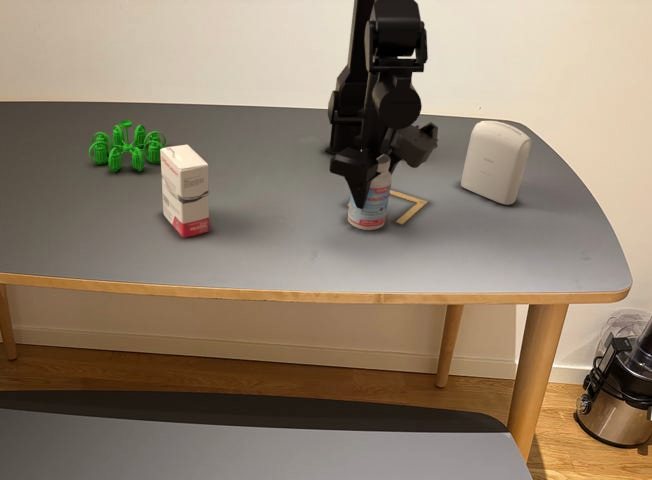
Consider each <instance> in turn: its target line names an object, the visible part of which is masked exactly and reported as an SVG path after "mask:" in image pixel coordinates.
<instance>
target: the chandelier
mask: <svg viewBox="0 0 652 480" xmlns="http://www.w3.org/2000/svg"><path fill="white" fill-rule="evenodd" d="M132 126H133V121H131V120H130V119H129V120H128V119H125V120H121V121H119V125H118V124H116V125H114V126H113V130H112V138H111V137H110V135H108V134H106V133H105V132H103V131H97V132H95V133H94V134H93V135H92V137H91V139H90V140H91V146H90V147H89V149H88V157H89V159H90V161H91V162H92V163H94V164H96V165H104V164H106V163H108V168H109V170H110V171H111V172H114V173H117V172H118V171H119V170H120V169H121V168H122V167H123V165H122V159H123V158H122V155H123V154H124V153H131V154H132V155H131V165H132V168H133V169H135V170H137V171H138V172H142V171H143V170H144V167H145V159H146V160H147V161H149V162H150V163H151V164H161V154H160V149H162V148H166V144H167V139H166V137H165V135H164V134H163V133H162V132H160V131H159V130H158V131H157V130H154V131H151V132H149V133H148V134H147V130H146V127H145V125H143V124H138V125H137V126H136V127H135V130H134V134H133V141H132V142H131V143H129V131H128V128H131V127H132ZM122 128H124V130H125V133H124V130H123V129H122ZM96 135H98V136H96ZM160 135H161V137H162V138H163V145H162V141H161V140H162V139H161V138H160ZM95 136H96V140H95V142H94V138H95ZM148 138H149V139H148ZM147 140H148V141H147ZM109 143H110V145H109ZM148 144H149V145H148ZM147 145H148V148H147ZM92 149H94V150H93V153H94V160H95V161H94V160H93V158H92V157H91V155H92V154H91V153H92ZM147 153H148V154H147ZM107 155H108V156H107Z"/></svg>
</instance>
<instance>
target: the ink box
mask: <svg viewBox="0 0 652 480" xmlns="http://www.w3.org/2000/svg"><path fill="white" fill-rule="evenodd" d="M160 161H161V162H160V168H161V169H160V171H161V186H162V187H161V188H162V208H163V209H162V210H163V216H164V217H165V219H167V221H168V222H169V223H170V224H171V225H172V226H173V228H174V229H175V230H176V231H177V232H178V234H179V235H180V236H181V237H182V238H184V239H185V238H189V237H192V236H193V237H194V236H197V235H201V234H206V233H209V232H210V197H209V191H210V190H209V164H208V163H207V162H206V161H205V160H204V159H203V158H202V157H201V156H200V155H199V154H198V153H197V152H196V151H195V150H194V149H193V148H192V147H191V146H190V145H189V144H188V143H187V144H180V145H174V146H173V145H172V146H167V147H164V148H162V149H160Z"/></svg>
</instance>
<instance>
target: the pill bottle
mask: <svg viewBox="0 0 652 480" xmlns="http://www.w3.org/2000/svg"><path fill="white" fill-rule="evenodd" d="M377 161H378V162H379V164H378V170H377V172H380V173H381V174H380V175H379V176H377V177H376V178H374V179H373V180H372V181H371V185H370V188H369V192H368V195H367V199H366V202H365V205H364V208H363V209H360V208H357V207H356V205H355V202H354V199H353V197H352V194H351V193H350V196H349V197H350V198H349V202H348V204H349V206H348V211H347V222H348V223H349V224H350V225H351V226H353V227H354V228H356V229H358V230H361V231H374V230H378V229H381V228H382V227H383V226H384V225H385V224H386V223H385V222H386V218H387V217H386V216H387V212H388V207H389V206H388V205H389V199H390V195H391V194H390V190H391V187H392V181H393V177H392V176H391V173H390V172H389V171H388V169H389V167H390V157H389V156H388V155H386V154H385V155H384V156H382V157H381V158H379V159H378V160H377Z"/></svg>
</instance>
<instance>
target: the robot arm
mask: <svg viewBox="0 0 652 480" xmlns="http://www.w3.org/2000/svg"><path fill="white" fill-rule="evenodd" d="M350 25H351V27H350V35H349V44H348V46H349V47H348V53H347V62H346V65H345V67H344V68H343V69H342V71H340V72H339V75H338V76H337V77H336V82H335V88H334V89H335V90H332V91H331V94H330V97H329V100H328V104H327V118H328V122H329V125H331V129H330V130H331V131H330V139H329V146H328V147H326V148H324V149H325V150H324V152H325V153H327V154H331V155H334V156H332V157H331V158H330V161H329V172H330V173H331V174H334V175H337V176H341V177H343V178H344V179H345V181H346V184H347V186H348V189H349V191H350V195H351V194H352V197H353V199H354V202H355V205H356V207H357V208H360V209H363V208H364V205H365V202H366V199H367V195H368V192H369V188H370V185H371V181H372V180H373V179H374V178H376V177H377V176H379V175H380V174H381V173H380V172H377V170H378V164H379V162H378V161H377V160H378V159H379V158H381V157H382V156H384V155H385V154H386V155H388V156H389V157H390V167H389V169H388V171H389V172H390V173H391V176H392V175H393V173H394V172H395V170H396V167H397V165H398V164H399V162H401V161H402V160H403V161H404V162H406V165H407V166H408V167H410V168H414V169H418V168H419V167H420V166H421V165H422V164H423V163H426V162H427V161H428V159H429V157H430V156H431V154H432V153H433V151H435V149H437V148H438V142H439V138H438V133H439V126H437V125H436V124H434V123H433V122H432V121H430V122H429V123H427V124H425V125H423V126H422V127H420V125H418V124H416V125H413V124H414V123H415V122H416V121H417V120H418V118H419V116H420V115H421V112H422V107H423V105H422V99H421V96H420V94H419V93H418V91H417V89H416V88H415V86H414V85H413V82H412V79H413V73H424V71H425V64H426V63H427V62H428V60H429V55H428V32H427V29H426V28H425V27H426V26H425V25H426V24H425V22H424V20H422V17H421V13H420V6H419V3H418V2H417V1H416V0H354V1H353V8H352V18H351V24H350ZM414 53H415V58H411V57H413V55H414ZM401 57H402V58H401Z"/></svg>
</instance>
